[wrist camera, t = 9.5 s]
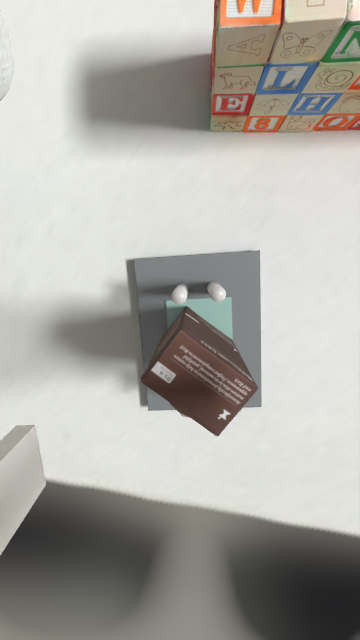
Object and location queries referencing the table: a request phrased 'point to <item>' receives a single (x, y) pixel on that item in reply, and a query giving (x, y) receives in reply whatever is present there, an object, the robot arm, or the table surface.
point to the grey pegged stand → (202, 304)
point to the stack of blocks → (285, 65)
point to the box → (200, 372)
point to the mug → (5, 58)
